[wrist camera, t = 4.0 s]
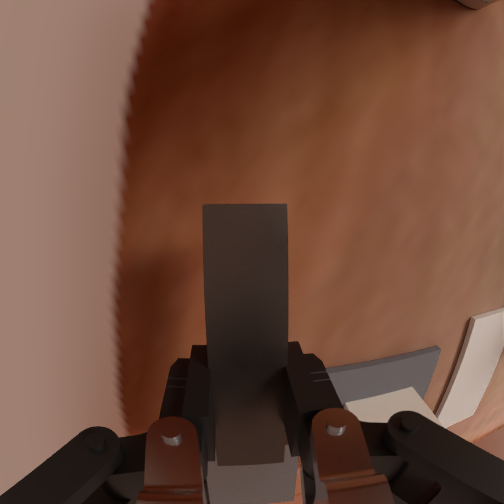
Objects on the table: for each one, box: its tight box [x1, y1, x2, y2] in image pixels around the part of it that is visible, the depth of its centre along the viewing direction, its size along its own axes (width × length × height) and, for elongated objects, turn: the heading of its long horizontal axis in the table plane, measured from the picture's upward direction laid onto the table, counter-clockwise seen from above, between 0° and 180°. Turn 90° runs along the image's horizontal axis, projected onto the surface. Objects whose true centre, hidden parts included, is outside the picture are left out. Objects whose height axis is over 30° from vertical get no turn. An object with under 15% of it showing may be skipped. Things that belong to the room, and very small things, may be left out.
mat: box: [325, 346, 441, 408], centre depth 20 cm, size 12×10×1 cm
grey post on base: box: [203, 204, 298, 504], centre depth 10 cm, size 13×4×3 cm, turn 179°
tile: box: [344, 387, 443, 427], centre depth 16 cm, size 2×6×8 cm, turn 91°
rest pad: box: [435, 307, 504, 428], centre depth 21 cm, size 14×7×1 cm, turn 1°
